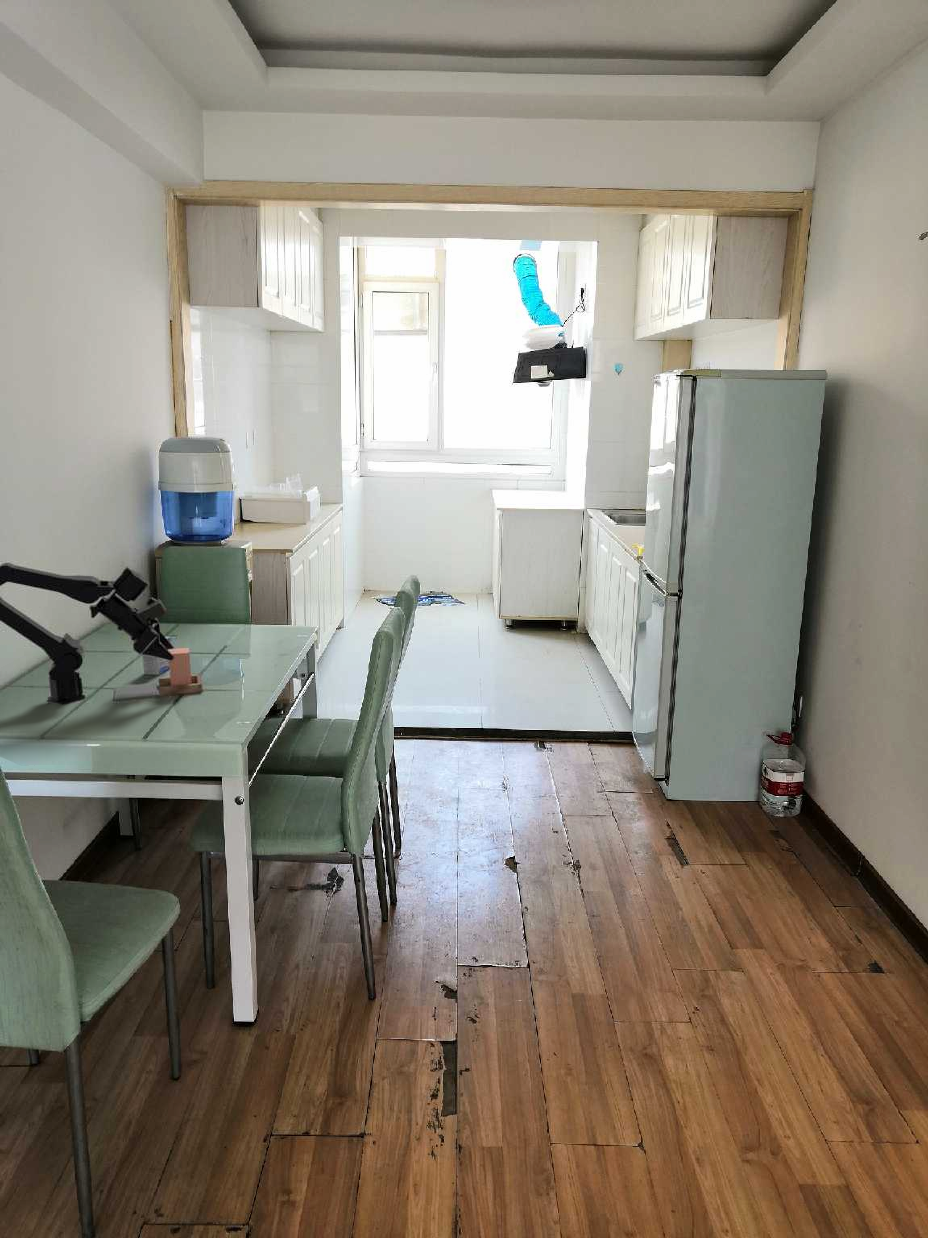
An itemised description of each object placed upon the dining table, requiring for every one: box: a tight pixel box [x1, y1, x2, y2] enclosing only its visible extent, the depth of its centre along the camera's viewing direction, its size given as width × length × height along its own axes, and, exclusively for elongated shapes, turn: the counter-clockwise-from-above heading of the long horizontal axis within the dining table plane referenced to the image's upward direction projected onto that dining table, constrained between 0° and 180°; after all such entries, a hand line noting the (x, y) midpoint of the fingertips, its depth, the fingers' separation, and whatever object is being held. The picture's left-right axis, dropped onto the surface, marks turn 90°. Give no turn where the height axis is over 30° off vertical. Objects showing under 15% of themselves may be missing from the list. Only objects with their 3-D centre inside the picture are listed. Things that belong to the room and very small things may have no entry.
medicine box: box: [141, 636, 172, 676], centre depth 252 cm, size 8×4×9 cm, turn 168°
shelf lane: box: [157, 673, 204, 697], centre depth 237 cm, size 10×9×2 cm
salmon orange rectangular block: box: [168, 647, 193, 686], centre depth 236 cm, size 5×5×10 cm
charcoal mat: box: [113, 682, 158, 702], centre depth 234 cm, size 10×10×1 cm
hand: (172, 654), depth 235 cm, fingers open, 9 cm apart
